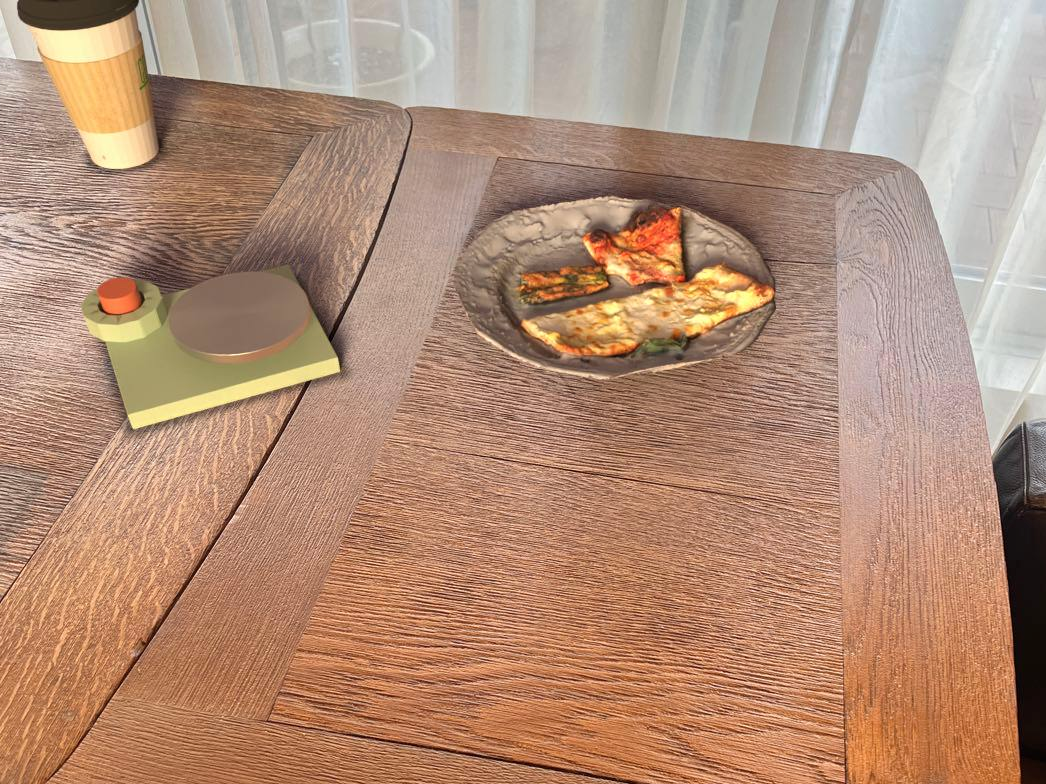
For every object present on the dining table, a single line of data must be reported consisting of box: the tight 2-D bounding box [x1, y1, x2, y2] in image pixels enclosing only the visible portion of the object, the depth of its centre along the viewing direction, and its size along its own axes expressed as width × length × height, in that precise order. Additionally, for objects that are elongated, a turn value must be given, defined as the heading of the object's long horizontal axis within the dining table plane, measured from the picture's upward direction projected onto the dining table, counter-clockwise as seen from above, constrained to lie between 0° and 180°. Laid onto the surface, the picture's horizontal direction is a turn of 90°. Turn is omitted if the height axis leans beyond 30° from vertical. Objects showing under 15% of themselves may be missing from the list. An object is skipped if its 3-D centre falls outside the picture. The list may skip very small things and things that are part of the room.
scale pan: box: [168, 271, 311, 364], centre depth 75 cm, size 10×10×1 cm
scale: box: [80, 264, 341, 430], centre depth 77 cm, size 16×14×3 cm
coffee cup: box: [16, 0, 160, 170], centre depth 91 cm, size 10×10×15 cm
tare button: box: [96, 276, 142, 316], centre depth 76 cm, size 3×3×2 cm
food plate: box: [453, 195, 777, 381], centre depth 80 cm, size 25×23×4 cm
